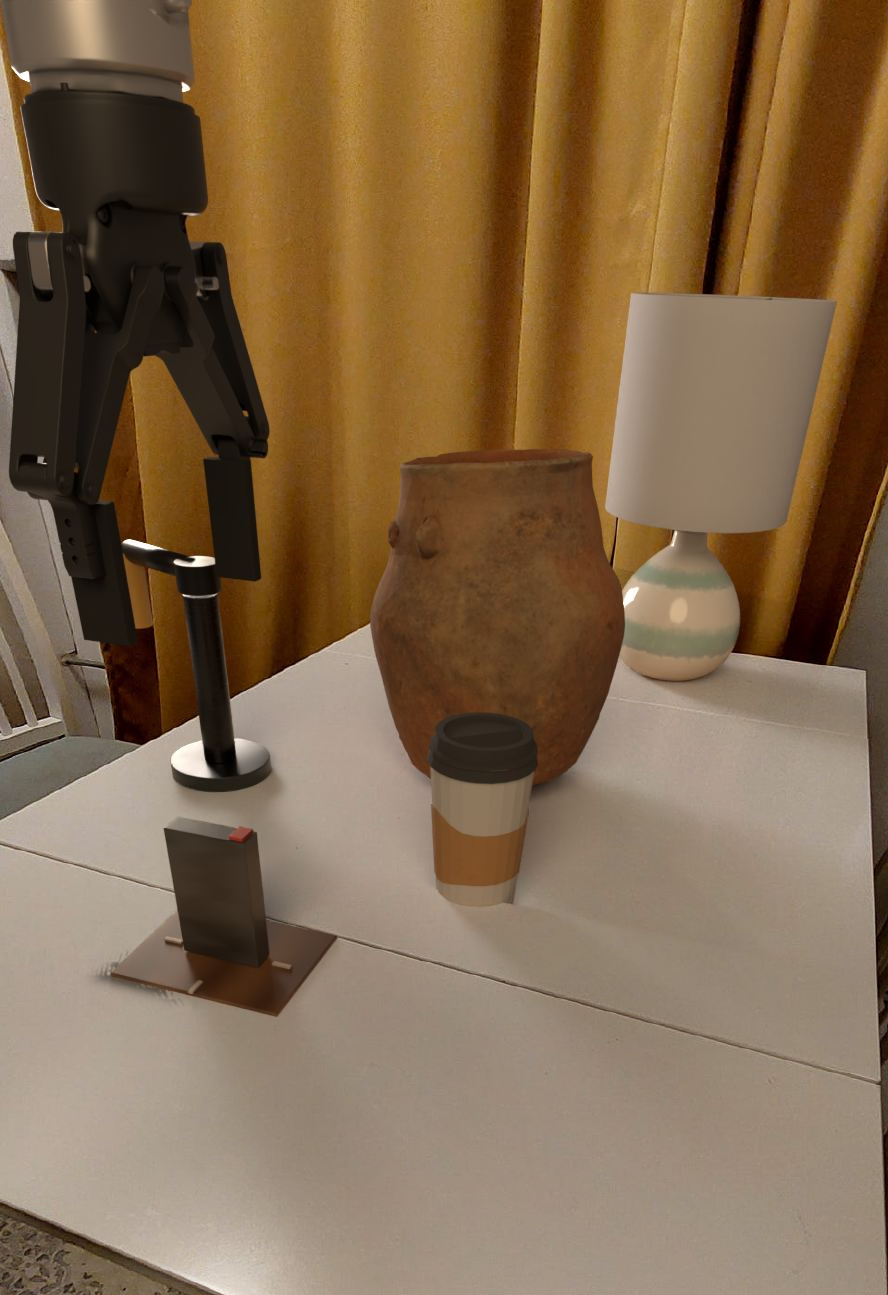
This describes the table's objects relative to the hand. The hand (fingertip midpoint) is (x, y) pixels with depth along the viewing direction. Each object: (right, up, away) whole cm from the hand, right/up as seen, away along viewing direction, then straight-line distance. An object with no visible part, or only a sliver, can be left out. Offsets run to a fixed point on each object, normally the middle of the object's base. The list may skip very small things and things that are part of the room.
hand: (181, 607), depth 53 cm
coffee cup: (+17, -15, +25) cm, 34 cm away
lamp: (+45, +21, +72) cm, 88 cm away
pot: (+20, +1, +45) cm, 49 cm away
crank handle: (-11, +13, +39) cm, 42 cm away
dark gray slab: (-1, -19, +15) cm, 24 cm away
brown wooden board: (-1, -21, +16) cm, 26 cm away
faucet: (-8, +1, +44) cm, 44 cm away
